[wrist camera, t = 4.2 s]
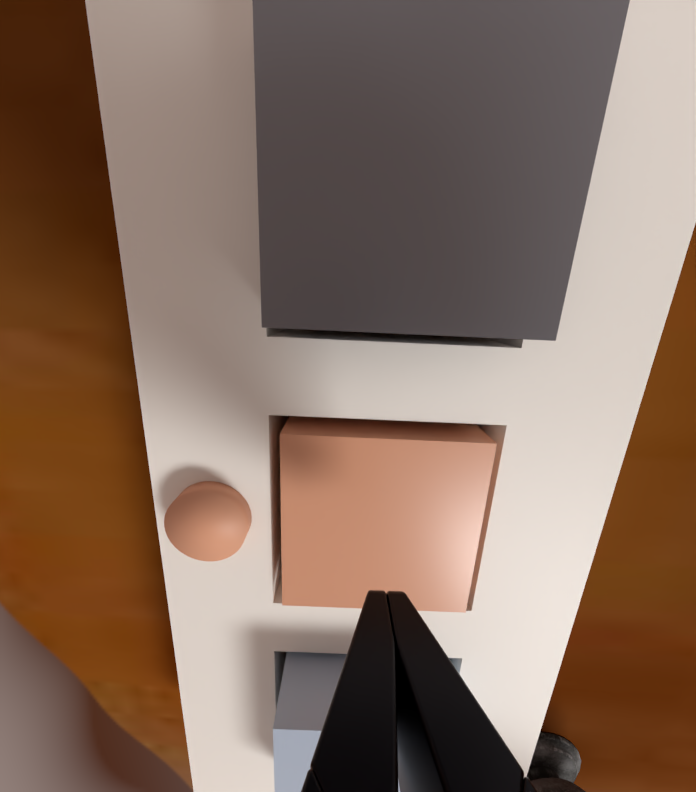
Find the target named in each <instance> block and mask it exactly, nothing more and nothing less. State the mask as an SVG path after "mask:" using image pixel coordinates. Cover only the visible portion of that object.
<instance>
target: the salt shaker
mask: <svg viewBox="0 0 696 792" xmlns="http://www.w3.org/2000/svg"><path fill="white" fill-rule="evenodd" d="M580 765H581V759H580V755H579V752H578V750H577V749H576V748H575V746H574V745H573V744H572V743H571V742H570V741H568V740H567V739H565V738H564V737H561V736H558V735H555V734H551V733H542V732H540V734H539V737H538V741H537V744H536V747H535V751H534V754H533V757H532V760H531V764H530V767H529V770H528V774H527V777H528V778H529V779H530V781H531V782H532V784H533V785H534V787H535V788H536V790H537V791H538V792H585V791H584V790H583V789H581V788H580V787H578V786H577V785H575V784H574V781H575V779H576V776H577V774H578V773H579V770H580Z"/></svg>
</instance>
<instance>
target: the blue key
mask: <svg viewBox="0 0 696 792" xmlns="http://www.w3.org/2000/svg"><path fill="white" fill-rule="evenodd" d="M346 655H347V654H336V653H310V652H287V653H286V659H285V665H284V670H283V676H282V681H281V687H280V692H279V698H278V703H277V709H276V714H275V720H274V725H273V752H274V787H275V792H301V790H302V787H303V784H304V781H305V778H306V775H307V772H308V770H309V769H310V764H311V761H312V758H313V755H314V752H315V749H316V746H317V743H318V740H319V737H320V734H321V731H322V728H323V725H324V722H325V719H326V716H327V713H328V710H329V707H330V704H331V701H332V698H333V695H334V692H335V689H336V686H337V683H338V680H339V677H340V673H341V670H342V667H343V664H344V661H345V658H346ZM398 792H400V787H399V780H398Z"/></svg>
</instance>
